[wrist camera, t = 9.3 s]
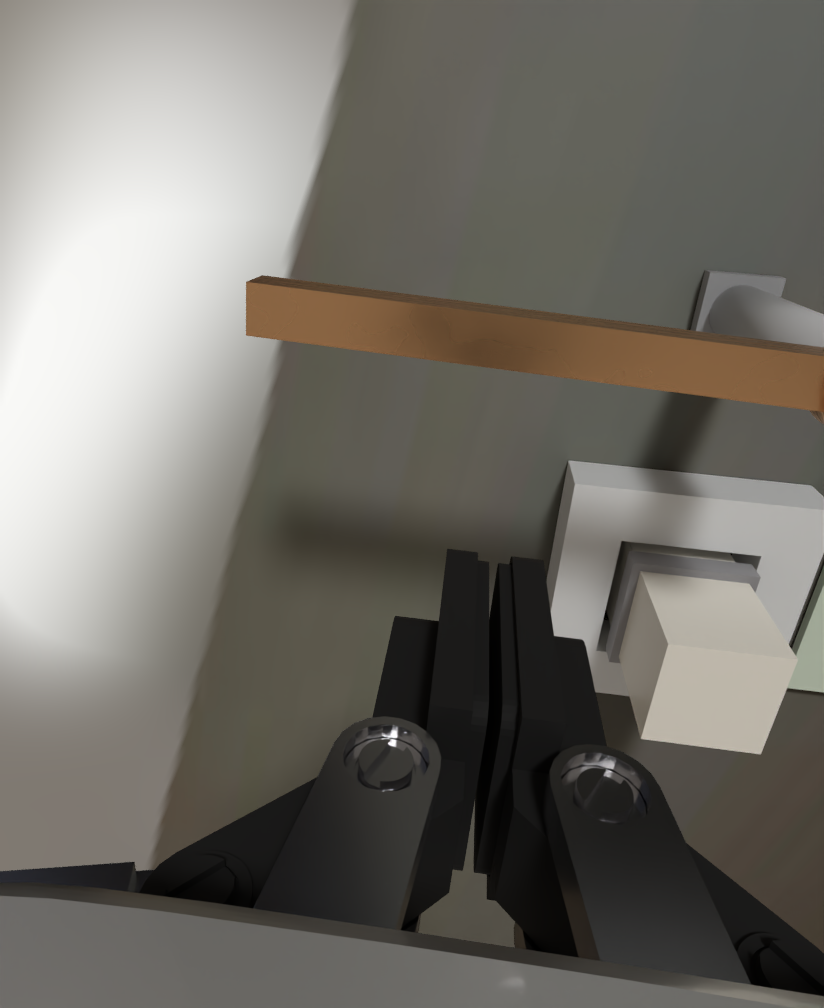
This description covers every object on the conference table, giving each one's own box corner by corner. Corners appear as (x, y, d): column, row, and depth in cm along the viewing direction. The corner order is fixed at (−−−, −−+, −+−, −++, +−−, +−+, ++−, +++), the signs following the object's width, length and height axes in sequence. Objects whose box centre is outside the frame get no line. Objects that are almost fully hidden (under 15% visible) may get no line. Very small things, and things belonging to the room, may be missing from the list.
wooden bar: (943, 331, 19) (989, 346, 17) (895, 437, 21) (935, 462, 19) (262, 245, 20) (240, 251, 18) (261, 352, 21) (240, 368, 20)
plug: (730, 533, 35) (812, 652, 26) (702, 624, 38) (767, 762, 29) (617, 520, 36) (660, 634, 27) (597, 612, 38) (629, 744, 29)
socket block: (882, 285, 30) (1106, 343, 19) (743, 676, 39) (840, 864, 28) (604, 261, 30) (667, 304, 20) (533, 650, 40) (549, 824, 29)
